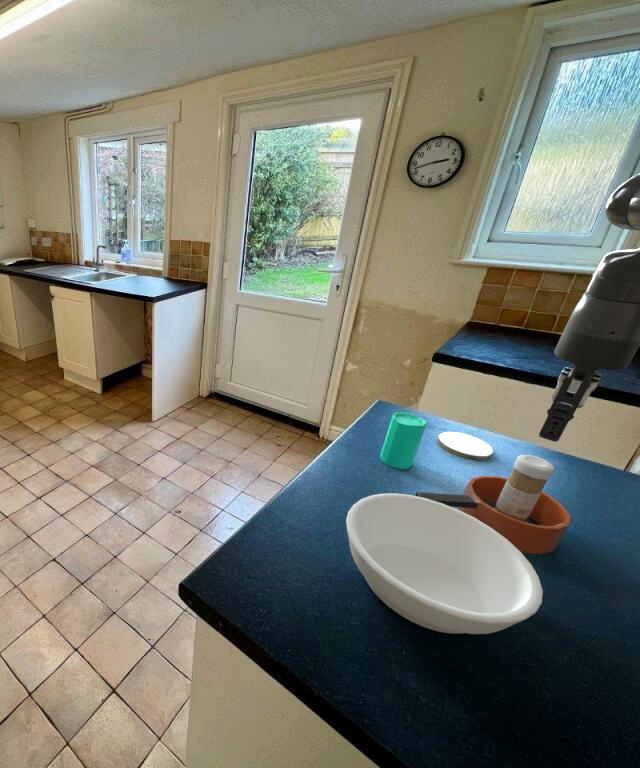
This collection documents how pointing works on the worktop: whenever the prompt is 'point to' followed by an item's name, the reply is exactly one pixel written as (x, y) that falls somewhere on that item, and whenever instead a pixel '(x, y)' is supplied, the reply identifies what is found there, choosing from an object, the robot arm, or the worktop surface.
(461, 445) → the disc
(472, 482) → the pan
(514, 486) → the sprinkles bottle
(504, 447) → the worktop surface
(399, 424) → the candle
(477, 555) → the bowl
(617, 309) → the robot arm
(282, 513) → the worktop surface
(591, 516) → the worktop surface
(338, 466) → the worktop surface
